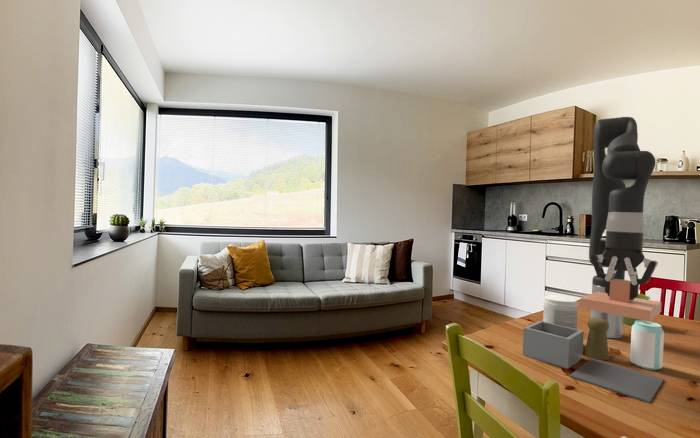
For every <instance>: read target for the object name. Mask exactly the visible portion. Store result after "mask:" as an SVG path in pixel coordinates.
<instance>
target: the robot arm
mask: <svg viewBox="0 0 700 438" xmlns="http://www.w3.org/2000/svg"><path fill="white" fill-rule="evenodd" d="M592 135H593V138H592V139H593V141H592V142H593V179H592V189H591V190H592V193H591V230H590V239H589V249H588V259H589V262H590V265H593V267H594V271H595V274H596V275H594V276H593V277H592V281H591V283H592V285H591V294H593V293H595V292H602V293H607V294H608V296H610V280H612V279H621V280H626V279H625V278H626V277H625V275H626V272H627V274H628V276H629V281H631V284H632V285H630V300H634V299H635V298H637V297H638V294H639V286H640V285H643V284H647V283H649V281H650V279H651V278H652V276H653V274H654V273H655V272H654V271H655V269H656V268H657V266H658V263H659V262H658V261H657V260H652V259H648V258H646V257H645V255H644V254H643V246H644V245H643V244H644V242H643V241H644V227H645V226H644V225H645V221H644V202H645V193H646V189H647V186H648V183H649V181H650V179H651V176H652V174H653V171H654V169H655V166H656V159H655V156H654V154H653V153H652V152H651V151H648V150H641V148H640V146H639V145H638V141H639V138H638V135H639V134H638V124H637V121H636V120H635V119H634V117H632V116H622V117H621V116H620V117H611V118H603V119H598V120H596V122H595V123H594V126H593V134H592ZM606 149H607V150H606ZM606 152H607V154H606ZM624 180H634V182H633V184H632V185H630V186H626V184H625V183H626V182H625V181H624ZM604 232H605V239H602V236H603V235H604ZM642 263H644V268H645V271H644V273H643V275H642V277H641V278H639V276H638V270H637V268H638V266H640V265H641V264H642ZM603 267H607V270H606V273H605V270H604V268H603ZM590 318H600V319H603V320H606V321H607V322H608V324H609V328H608V330H607V331H606V334H607V339H622V338H623V337H622V336H623V325H624V324H623V316H619V315H614V314H609V313H604V312H599V311H593V310H590Z"/></svg>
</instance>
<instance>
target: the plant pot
mask: <svg viewBox="0 0 700 438" xmlns="http://www.w3.org/2000/svg"><path fill="white" fill-rule="evenodd" d="M637 298H639V299H645V300H650V299H651V296H649V295H646V294H643V293H638V297H637ZM638 320H639V319H634V318H629V317H624V316H623V323H624V324H623V325H627V324H628V326H632V325H634V324H635V321H638ZM640 321H644V320H640Z"/></svg>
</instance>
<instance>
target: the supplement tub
mask: <svg viewBox="0 0 700 438" xmlns="http://www.w3.org/2000/svg"><path fill="white" fill-rule="evenodd" d="M578 308H579V307H578V300H577V299H576V298H573V297H570V296H569V297H568V296H564V295H557V294H556V295H555V294H554V295H553V294H551V295H545V296H544V298H543V311H542V312H543V314H542V315H543V317H542V321H544V322H548V323H553V324H557V325H561V326H565V327H569V328H574V329H578Z"/></svg>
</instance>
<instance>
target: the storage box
mask: <svg viewBox="0 0 700 438" xmlns="http://www.w3.org/2000/svg"><path fill="white" fill-rule="evenodd" d="M584 333H585V332H584V330H582V329H578V328H577V329H574V328H569V327H565V326H561V325H557V324H553V323H548V322H544V321H543V320H539V321H537V322H533V323H532V324H529V325H527V326H525V327H523V337H522V338H523V339H522V356H525V357H528V358H532V359H535V360H538V361H541V362H544V363H548V364H552V365H554V366H557V367H561V368H564V369H566V370H568V369H570V368H571V367H573V366H574V365H575V364H576V363H579V361H581V360H582V359H583V356H584V355H583V354H584V353H583V352H584V337H585V335H584Z"/></svg>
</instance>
